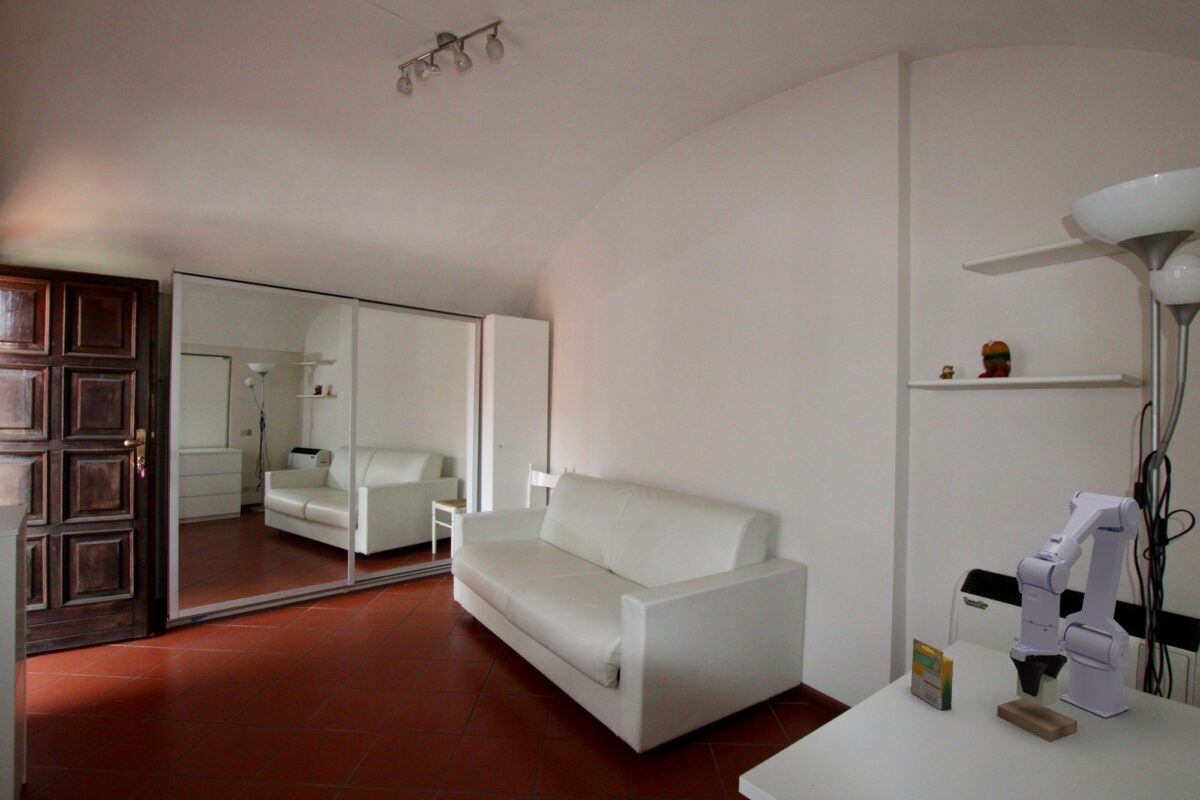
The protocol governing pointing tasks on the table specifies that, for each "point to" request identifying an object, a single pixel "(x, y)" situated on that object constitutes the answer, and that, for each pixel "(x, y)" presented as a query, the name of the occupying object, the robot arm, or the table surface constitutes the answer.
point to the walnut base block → (1037, 719)
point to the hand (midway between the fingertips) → (1037, 691)
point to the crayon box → (931, 675)
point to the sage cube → (1041, 691)
